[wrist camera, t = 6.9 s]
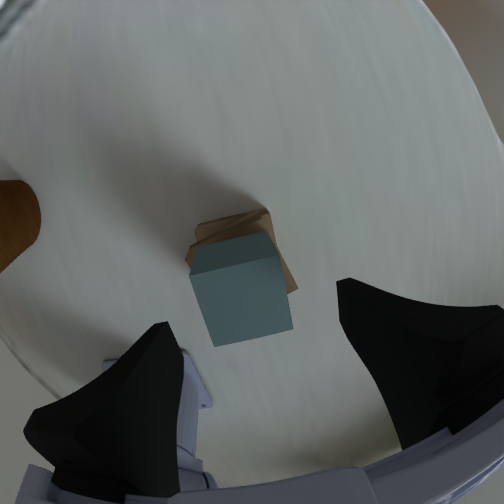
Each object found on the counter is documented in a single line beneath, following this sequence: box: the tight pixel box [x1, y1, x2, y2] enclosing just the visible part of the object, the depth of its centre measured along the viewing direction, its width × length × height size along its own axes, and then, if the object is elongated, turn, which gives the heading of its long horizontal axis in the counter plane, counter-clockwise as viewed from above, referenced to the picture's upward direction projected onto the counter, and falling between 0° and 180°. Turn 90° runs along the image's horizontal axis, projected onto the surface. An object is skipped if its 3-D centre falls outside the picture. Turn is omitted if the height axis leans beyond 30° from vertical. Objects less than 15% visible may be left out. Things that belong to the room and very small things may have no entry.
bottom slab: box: [195, 208, 277, 245], centre depth 20 cm, size 5×5×2 cm
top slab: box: [185, 210, 298, 294], centre depth 18 cm, size 5×5×2 cm
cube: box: [189, 231, 293, 347], centre depth 15 cm, size 4×4×4 cm
